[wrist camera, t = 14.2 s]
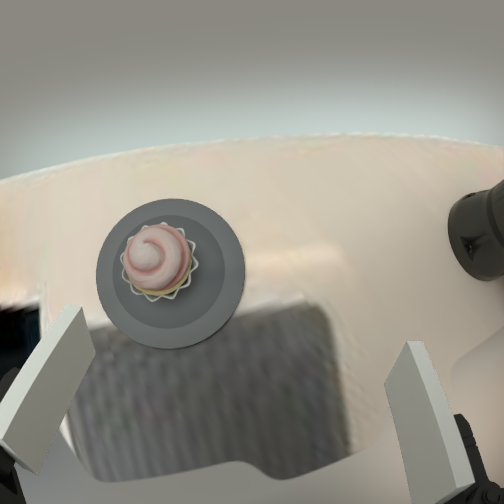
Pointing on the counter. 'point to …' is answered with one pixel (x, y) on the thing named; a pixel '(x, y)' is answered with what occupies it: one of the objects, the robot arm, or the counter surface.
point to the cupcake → (158, 261)
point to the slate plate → (188, 298)
